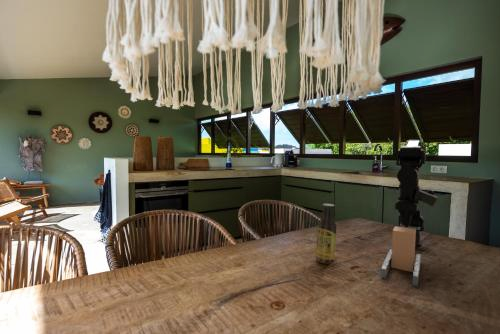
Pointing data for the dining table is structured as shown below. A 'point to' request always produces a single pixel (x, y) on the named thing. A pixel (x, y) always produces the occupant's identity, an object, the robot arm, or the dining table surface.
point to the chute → (388, 262)
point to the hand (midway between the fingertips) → (406, 226)
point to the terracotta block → (403, 248)
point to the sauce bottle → (326, 235)
